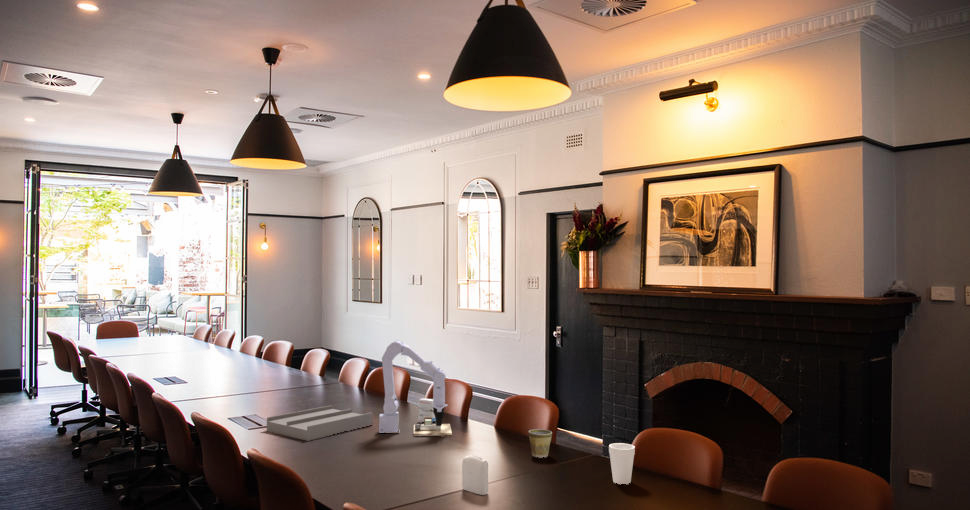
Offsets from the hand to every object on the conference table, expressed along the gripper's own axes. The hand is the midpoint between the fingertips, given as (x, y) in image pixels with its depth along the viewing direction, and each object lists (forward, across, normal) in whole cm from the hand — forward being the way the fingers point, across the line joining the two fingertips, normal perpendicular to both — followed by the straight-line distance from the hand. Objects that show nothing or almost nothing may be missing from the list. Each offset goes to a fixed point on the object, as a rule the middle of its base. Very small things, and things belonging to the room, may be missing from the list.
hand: (438, 424), depth 312 cm
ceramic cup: (+4, -42, -42) cm, 60 cm away
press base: (+4, +3, +3) cm, 6 cm away
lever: (+3, 0, +5) cm, 6 cm away
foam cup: (+4, -81, -65) cm, 104 cm away
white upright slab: (+5, -88, -10) cm, 89 cm away
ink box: (+4, +25, +5) cm, 26 cm away
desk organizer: (+5, +14, +58) cm, 60 cm away
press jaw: (+3, +5, +5) cm, 8 cm away
